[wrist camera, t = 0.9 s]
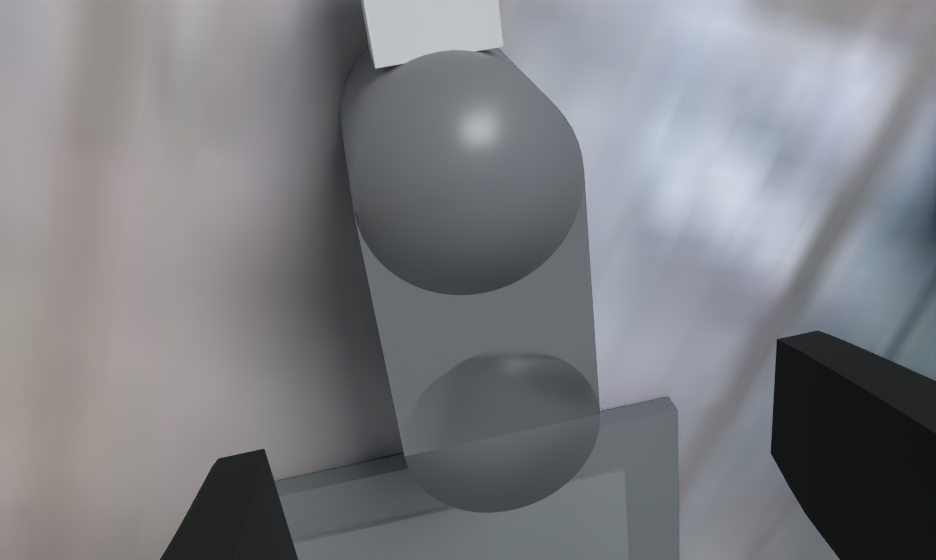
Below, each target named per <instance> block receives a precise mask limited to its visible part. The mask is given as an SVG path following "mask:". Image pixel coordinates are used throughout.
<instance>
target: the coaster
mask: <svg viewBox="0 0 936 560" xmlns="http://www.w3.org/2000/svg"><path fill="white" fill-rule="evenodd" d="M275 485H276V489H277V492H278V495H279V498H280V502H281V505H282V508H283V511H284V515H285V518H286V521H287V525H288V528H289V531H290V534H291V538H292V541H293V544H294V547H295V551H296V554H297V557H298V560H679V497H678V412H677V409H676V407H675V406H674V404H673V403H672V401H671V400H670V398H669V397H665V398H660V399H655V400H651V401H646V402H642V403H637V404H632V405H628V406H623V407H618V408H614V409H609V410H604V411H600V427H599V433H598V437H597V440H596V443H595V446H594V448H593V450H592V452H591V455H590V456H589V458H588V459H587V461H586V463H585V464H584V466H583V467H582V468H581V469H580V471H579V472H578V473H577V474H576V475H575V476H574V477H573V478H572V479H571V480H570V481H569V482H568V483H567V484H565V485H564V486H563V487H562V488H560V489H559V490H558V491H556V492H555V493H553V494H551V495H550V496H548V497H546V498H544V499H542V500H540V501H538V502H536V503H533V504H531V505H528V506H526V507H522V508H519V509H515V510H510V511H504V512H494V513H478V512H470V511H464V510H460V509H457V508H453V507H451V506H448V505H446V504H443V503H442V502H440V501H438V500H436V499H434V498H433V497H432V496H430V495H429V494H428V493H426V492H425V491H424V490H423V489H422V488H421V487H420V486H419V485H418V483H417V482H416V481H415V479H414V478H413V476H412V475H411V473H410V471H409V468H408V466H407V463H406V460H405V456H404V454H400V455H395V456H391V457H386V458H381V459H377V460H372V461H367V462H363V463H358V464H354V465H349V466H344V467H340V468H335V469H330V470H326V471H321V472H316V473H312V474H307V475H302V476H298V477H293V478H289V479H284V480H279V481H275Z"/></svg>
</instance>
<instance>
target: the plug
mask: <svg viewBox="0 0 936 560" xmlns="http://www.w3.org/2000/svg"><path fill="white" fill-rule="evenodd" d="M361 5H362V10H363V16H364V22H365V27H366V33H367V38H368V44H369V47H368V48H367V49H366V50H365V51H364V52H363V53H362V54H361V55H360V57H359V58H358V59H357V61H356V62H355V64H354V66H353V67H352V69H351V71H350V73H349V75H348V77H347V80H346V82H345V85H344V89H343V92H342V97H341V105H340V120H341V128H342V135H343V142H344V148H345V155H346V162H347V169H348V176H349V183H350V190H351V197H352V203H353V210H354V216H355V221H356V225H357V230H358V235H359V240H360V245H361V250H362V254H363V259H364V264H365V269H366V274H367V278H368V283H369V288H370V293H371V298H372V302H373V307H374V312H375V317H376V322H377V327H378V331H379V336H380V341H381V346H382V351H383V355H384V360H385V365H386V370H387V375H388V379H389V384H390V389H391V394H392V399H393V404H394V408H395V413H396V418H397V423H398V428H399V432H400V437H401V442H402V447H403V452H404V456H405V460H406V463H407V466H408V468H409V471H410V473H411V475H412V476H413V478H414V479H415V481H416V482H417V483H418V485H419V486H420V487H421V488H422V489H423V490H424V491H425V492H426V493H428V494H429V495H430V496H432V497H433V498H434V499H436V500H438V501H440V502H442V503H443V504H446V505H448V506H451V507H453V508H457V509H460V510H464V511H470V512H478V513H494V512H504V511H510V510H515V509H519V508H522V507H526V506H528V505H531V504H533V503H536V502H538V501H540V500H542V499H544V498H546V497H548V496H550V495H551V494H553V493H555V492H556V491H558V490H559V489H560V488H562V487H563V486H564V485H565V484H567V483H568V482H569V481H570V480H571V479H572V478H573V477H574V476H575V475H576V474H577V473H578V472H579V471H580V469H581V468H582V467H583V466H584V464H585V463H586V461H587V459H588V458H589V456H590V455H591V452H592V450H593V448H594V446H595V443H596V440H597V437H598V433H599V427H600V407H599V392H598V377H597V362H596V346H595V331H594V316H593V301H592V286H591V270H590V255H589V240H588V225H587V209H586V194H585V179H584V167H583V159H582V154H581V150H580V147H579V143H578V140H577V138H576V136H575V134H574V131H573V129H572V127H571V126H570V124H569V123H568V121H567V119H566V118H565V116H564V115H563V114H562V113H561V112H560V110H559V109H558V108H557V107H556V106H555V105H554V104H553V103H552V102H551V101H550V99H549V98H548V97H547V96H546V95H545V94H544V93H543V92H542V91H541V90H540V89H539V88H538V87H537V86H536V85H535V84H534V83H533V82H532V81H531V80H530V79H529V78H528V77H527V76H526V75H525V74H524V73H523V72H522V71H521V70H520V69H519V68H518V67H517V66H516V65H515V64H514V63H513V62H512V61H511V60H510V59H509V58H508V57H507V56H506V55H505V54H504V53H503V52H502V51H501V50H500V49H499V47H503V38H502V29H501V19H500V10H499V1H498V0H361Z"/></svg>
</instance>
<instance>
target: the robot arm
mask: <svg viewBox="0 0 936 560" xmlns="http://www.w3.org/2000/svg"><path fill="white" fill-rule="evenodd" d="M771 454H772V456H773V458H774V460H775V462H776V464H777V465H778V467H779V469H780V471H781V473H782V474H783V476H784V478H785V480H786V482H787V483H788V485H789V487H790V489H791V490H792V492H793V494H794V495H795V497H796V499H797V500H798V502H799V504H800V505H801V507H802V509H803V510H804V512H805V514H806V515H807V516H808V518H809V519H810V520H811V522H812V523H813V525H814V526H815V527H816V529H817V530H818V531H819V533H820V534H821V535H822V536H823V538H824V539H825V540H826V542H827V543H828V544H829V546H830V547H831V548H832V550H833V551H834V552H835V554H836V555H837V556H838V557H839V559H840V560H936V381H934V380H932V379H930V378H928V377H925V376H923V375H921V374H919V373H916V372H914V371H912V370H909V369H907V368H905V367H903V366H901V365H898V364H896V363H894V362H892V361H889V360H887V359H885V358H883V357H880V356H878V355H876V354H874V353H871V352H869V351H867V350H865V349H862V348H860V347H858V346H855V345H853V344H851V343H848V342H846V341H844V340H841V339H839V338H836V337H834V336H831V335H828V334H826V333H823V332H820V331H814V332H809V333H805V334H800V335H795V336H791V337H786V338H781V339H777V349H776V368H775V386H774V404H773V423H772V441H771ZM160 560H298V557H297V554H296V551H295V547H294V544H293V541H292V538H291V534H290V531H289V528H288V525H287V521H286V518H285V515H284V511H283V508H282V505H281V502H280V498H279V495H278V492H277V489H276V485H275V482H274V479H273V476H272V472H271V469H270V466H269V463H268V459H267V456H266V453H265V450H264V449H261V450H257V451H252V452H247V453H243V454H238V455H233V456H229V457H224V458H219V459H218V460H217V461H216V462H215V464H214V465H213V466H212V468H211V470H210V472H209V473H208V475H207V477H206V479H205V481H204V483H203V485H202V487H201V488H200V490H199V492H198V494H197V496H196V498H195V500H194V501H193V503H192V505H191V507H190V509H189V511H188V512H187V514H186V516H185V518H184V520H183V521H182V523H181V525H180V527H179V528H178V530H177V532H176V534H175V536H174V537H173V539H172V541H171V542H170V544H169V546H168V547H167V549H166V551H165V552H164V554H163V556H162V557H161V559H160Z"/></svg>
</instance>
